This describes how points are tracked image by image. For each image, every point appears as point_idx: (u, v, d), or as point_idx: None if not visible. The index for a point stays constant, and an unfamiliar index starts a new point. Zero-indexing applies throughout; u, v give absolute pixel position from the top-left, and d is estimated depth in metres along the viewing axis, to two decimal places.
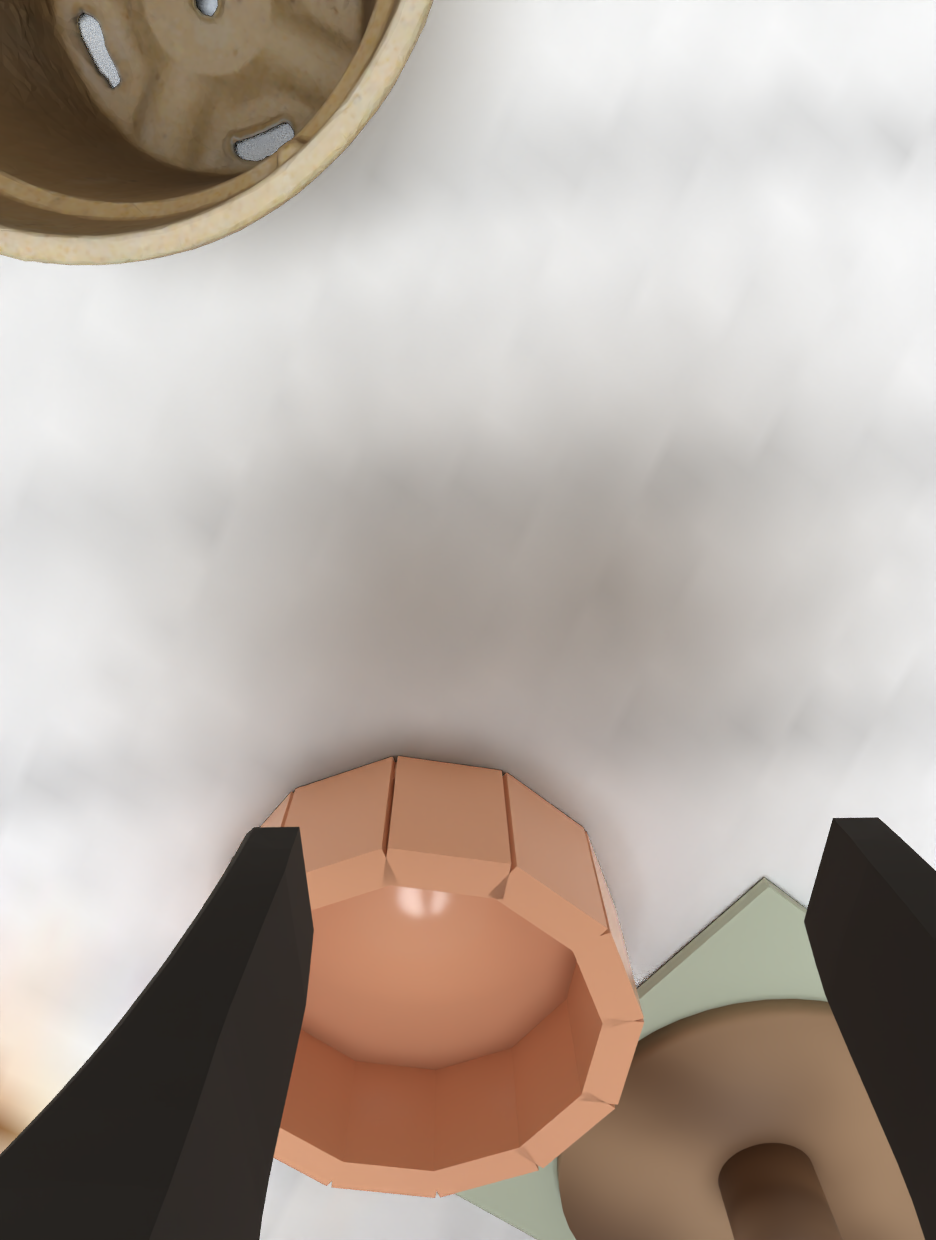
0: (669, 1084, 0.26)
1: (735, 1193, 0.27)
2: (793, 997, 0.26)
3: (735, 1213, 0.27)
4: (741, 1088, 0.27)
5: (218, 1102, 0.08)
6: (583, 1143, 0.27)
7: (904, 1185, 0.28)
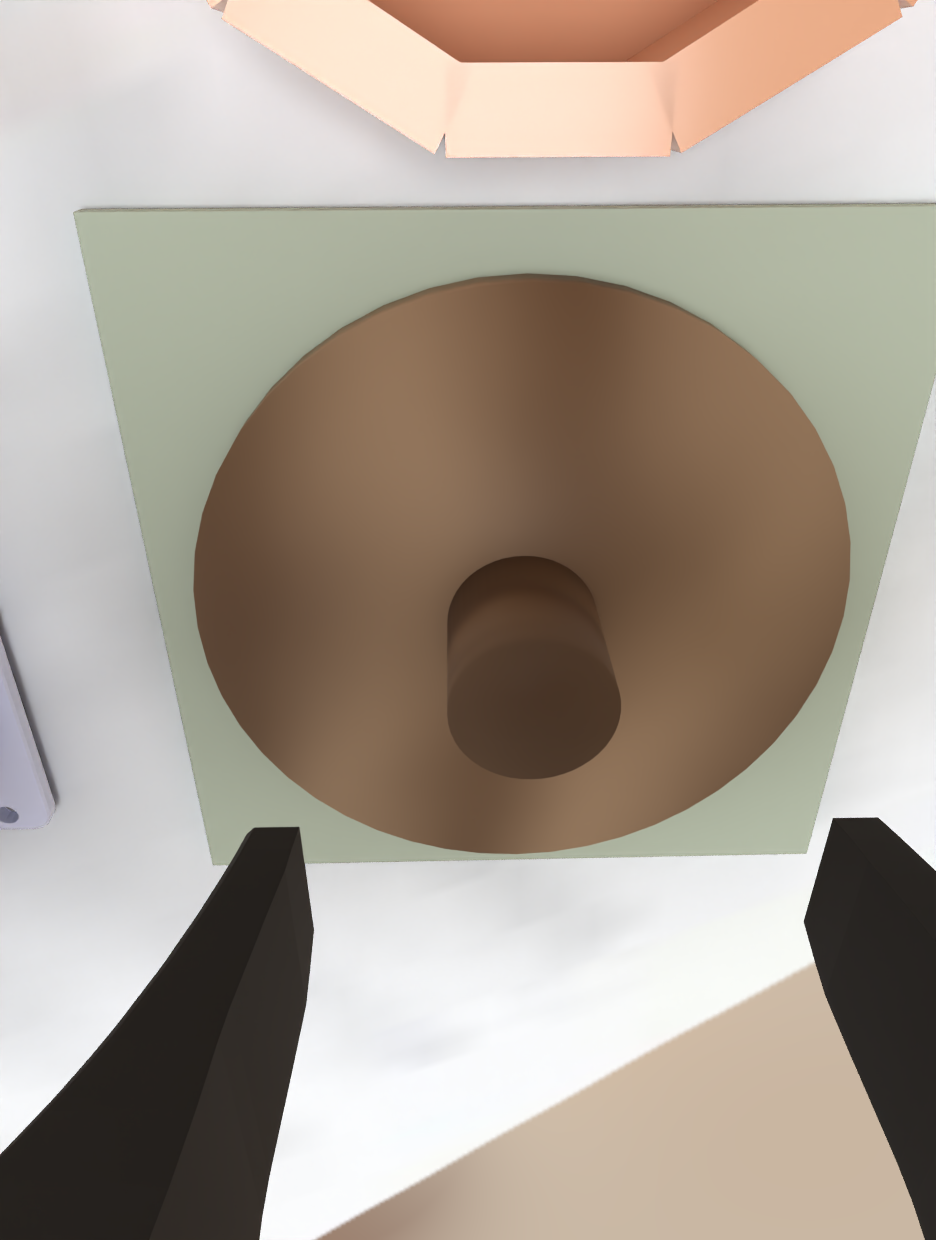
0: (582, 364, 0.15)
1: (509, 583, 0.16)
2: None
3: (494, 600, 0.16)
4: (643, 463, 0.16)
5: (218, 1102, 0.08)
6: (382, 345, 0.15)
7: (628, 764, 0.20)
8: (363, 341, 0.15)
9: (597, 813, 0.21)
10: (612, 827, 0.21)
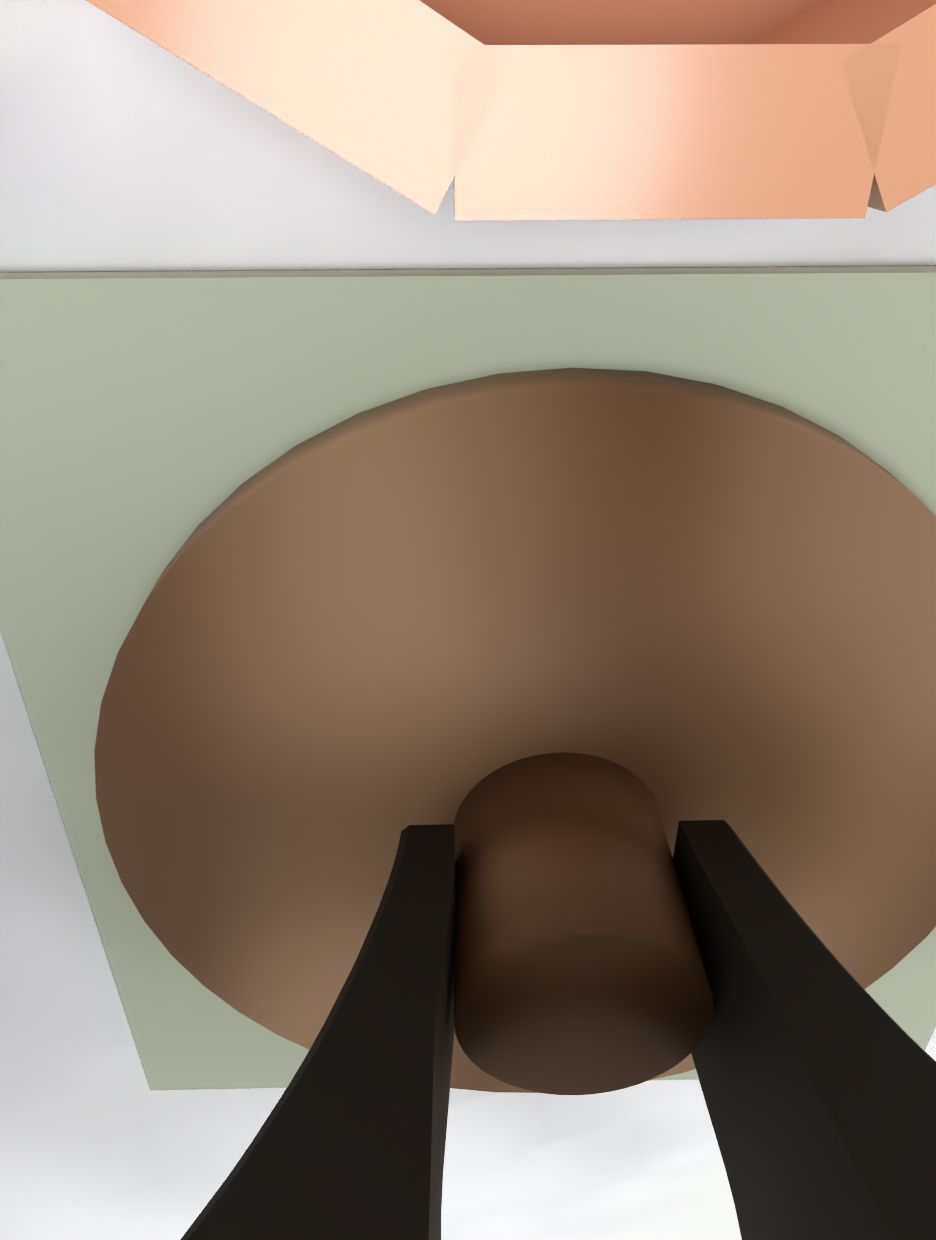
0: (654, 503, 0.10)
1: (542, 806, 0.11)
2: None
3: (522, 837, 0.11)
4: (737, 634, 0.11)
5: (435, 1097, 0.08)
6: (354, 479, 0.10)
7: None
8: (326, 473, 0.10)
9: None
10: None
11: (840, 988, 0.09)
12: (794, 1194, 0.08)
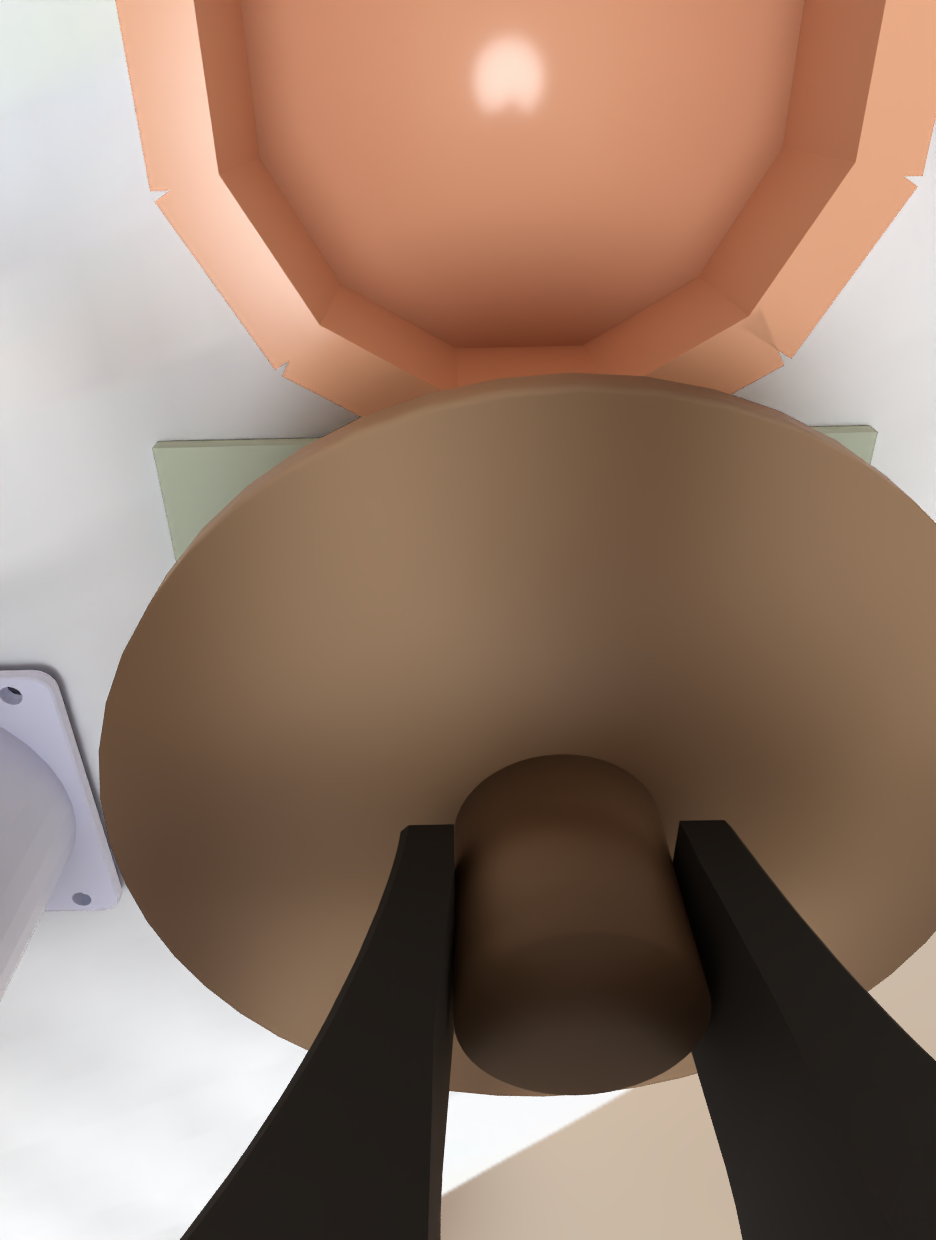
0: (653, 507, 0.10)
1: (542, 807, 0.11)
2: None
3: (522, 837, 0.11)
4: (736, 636, 0.11)
5: (434, 1097, 0.08)
6: (356, 482, 0.10)
7: None
8: (329, 476, 0.10)
9: None
10: None
11: (841, 988, 0.09)
12: (794, 1193, 0.08)
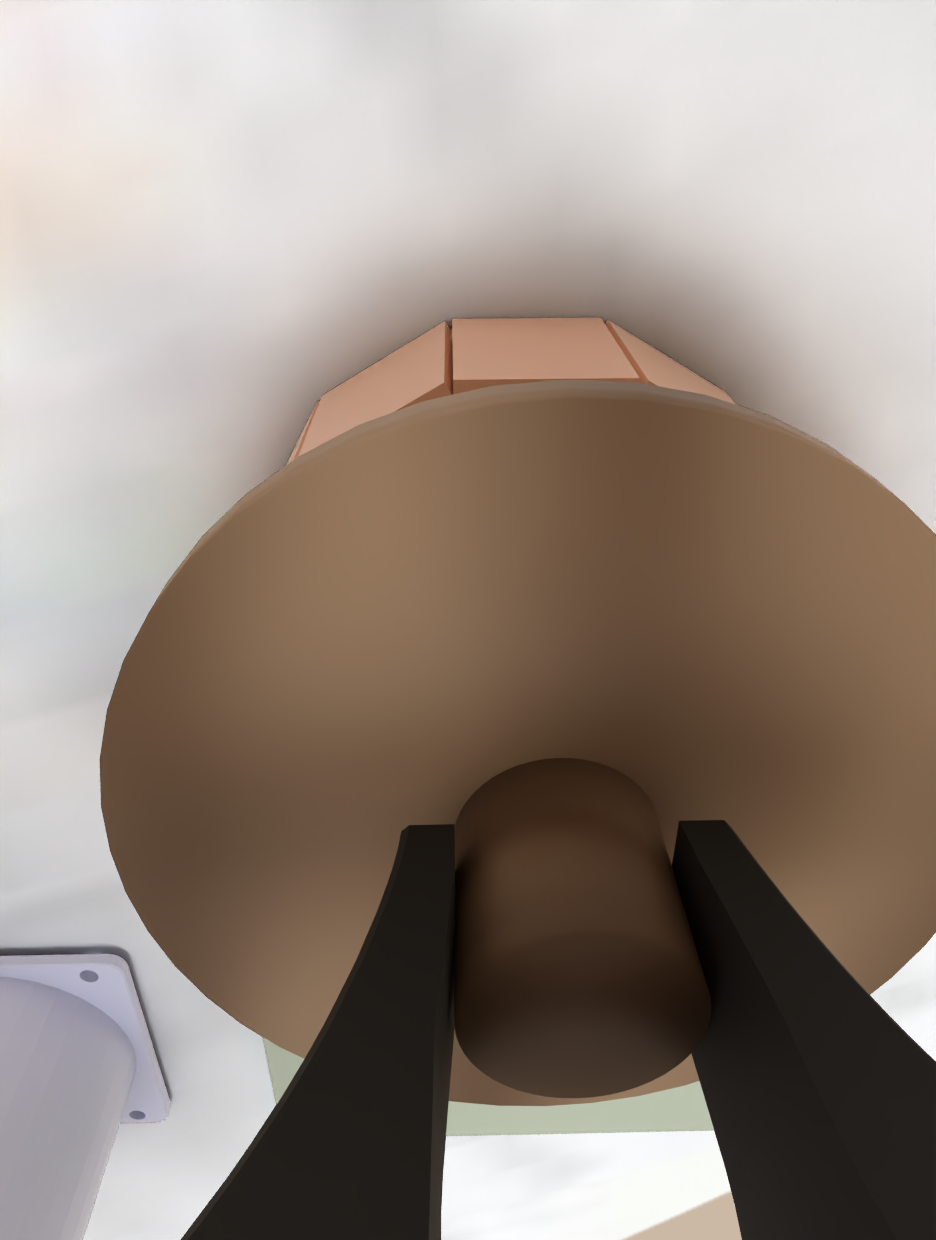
0: (647, 509, 0.10)
1: (541, 810, 0.11)
2: None
3: (521, 840, 0.11)
4: (730, 638, 0.11)
5: (435, 1097, 0.08)
6: (354, 487, 0.10)
7: None
8: (327, 482, 0.10)
9: None
10: (673, 1074, 0.16)
11: (840, 988, 0.09)
12: (795, 1193, 0.08)
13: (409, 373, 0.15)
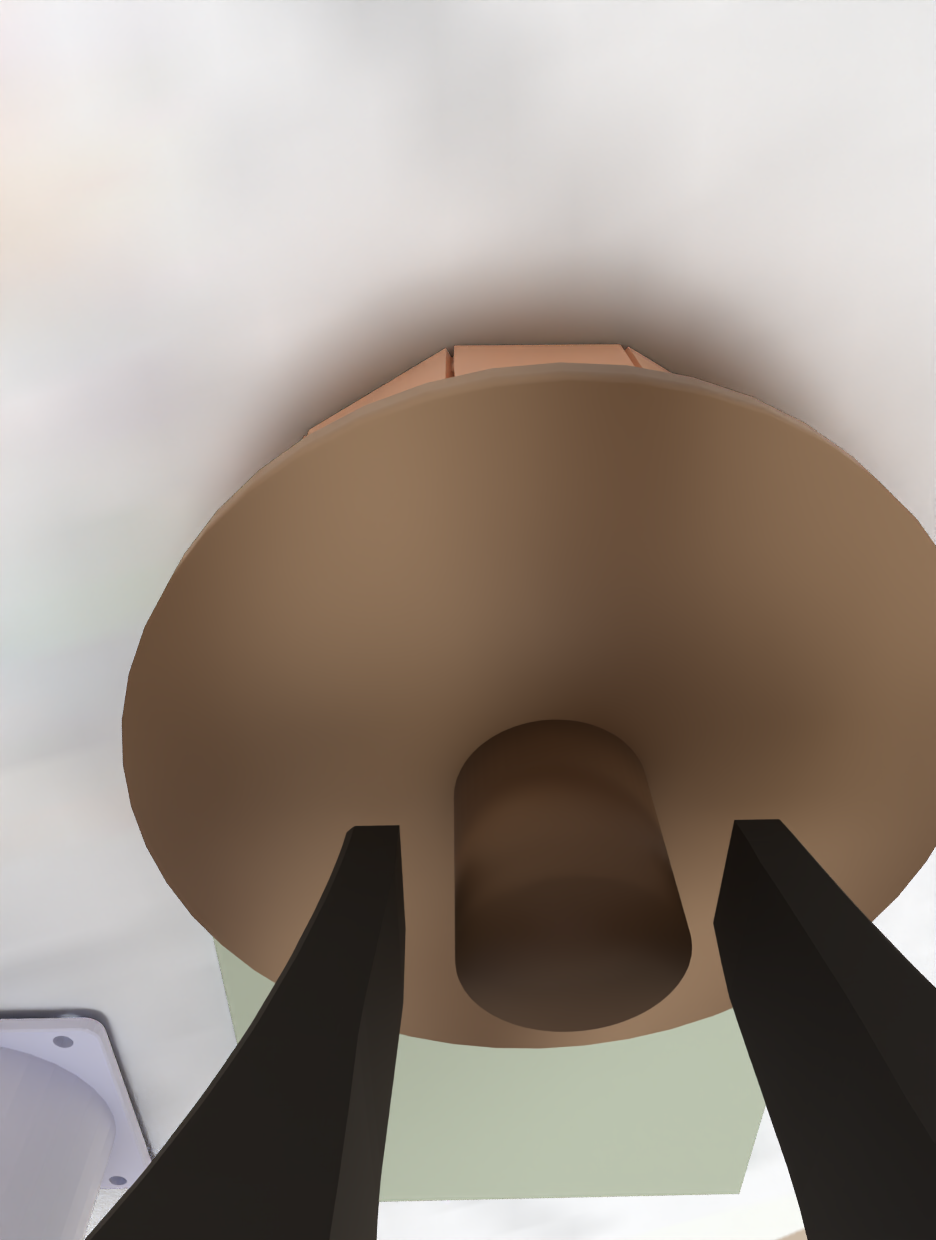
0: (635, 486, 0.11)
1: (535, 767, 0.12)
2: None
3: (517, 794, 0.12)
4: (714, 607, 0.12)
5: (358, 1099, 0.08)
6: (361, 465, 0.11)
7: None
8: (336, 460, 0.11)
9: None
10: (661, 1019, 0.17)
11: (912, 987, 0.09)
12: (871, 1192, 0.08)
13: None
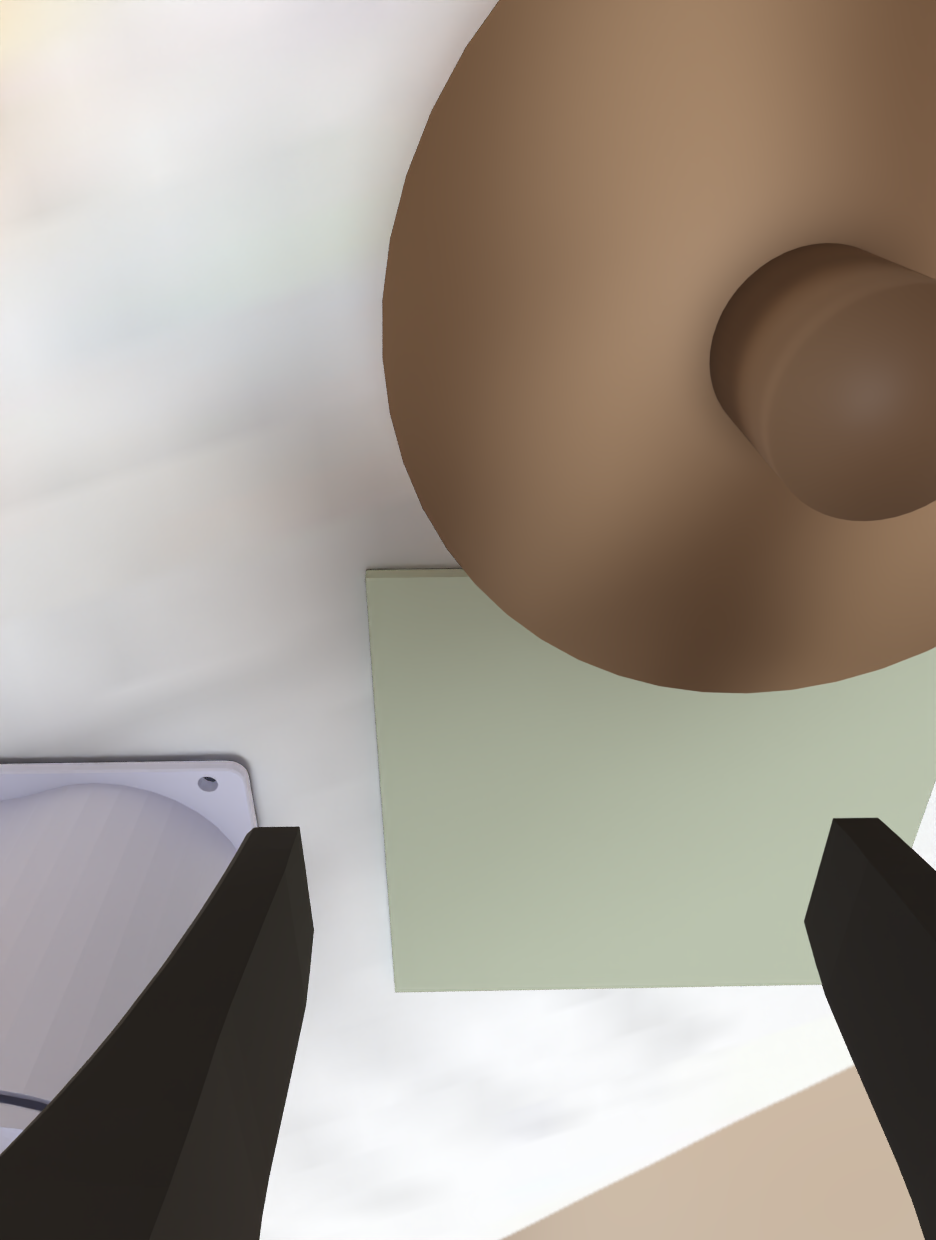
0: None
1: (828, 258, 0.12)
2: (876, 694, 0.23)
3: (816, 274, 0.12)
4: None
5: (218, 1102, 0.08)
6: None
7: (909, 564, 0.16)
8: None
9: (859, 634, 0.16)
10: (874, 654, 0.17)
11: None
12: None
13: None
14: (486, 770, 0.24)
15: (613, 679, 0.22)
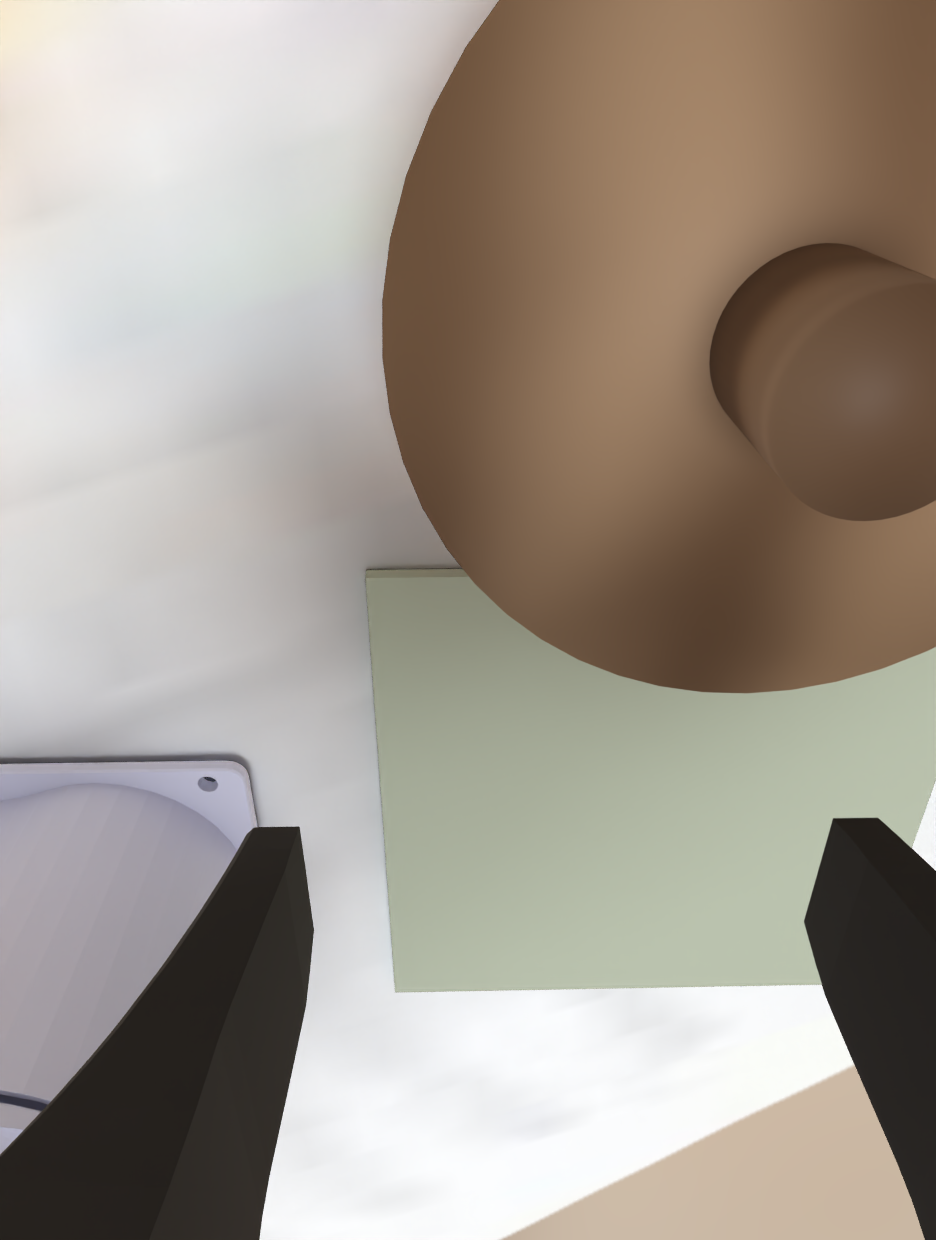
0: None
1: (828, 258, 0.12)
2: (876, 694, 0.23)
3: (816, 274, 0.12)
4: None
5: (218, 1102, 0.08)
6: None
7: (909, 564, 0.16)
8: None
9: (859, 634, 0.16)
10: (874, 654, 0.17)
11: None
12: None
13: None
14: (486, 770, 0.24)
15: (613, 679, 0.22)
